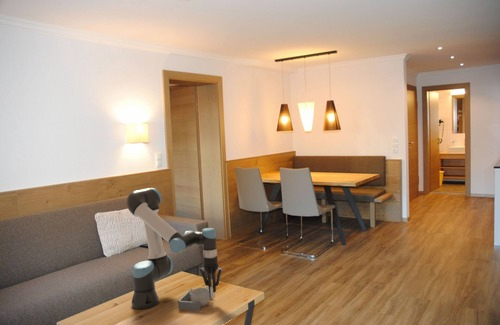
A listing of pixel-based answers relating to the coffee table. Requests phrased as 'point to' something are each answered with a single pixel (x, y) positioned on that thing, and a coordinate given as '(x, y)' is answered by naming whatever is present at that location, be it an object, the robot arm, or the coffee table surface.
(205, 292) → the teacup
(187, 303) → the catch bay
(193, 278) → the coffee table surface
